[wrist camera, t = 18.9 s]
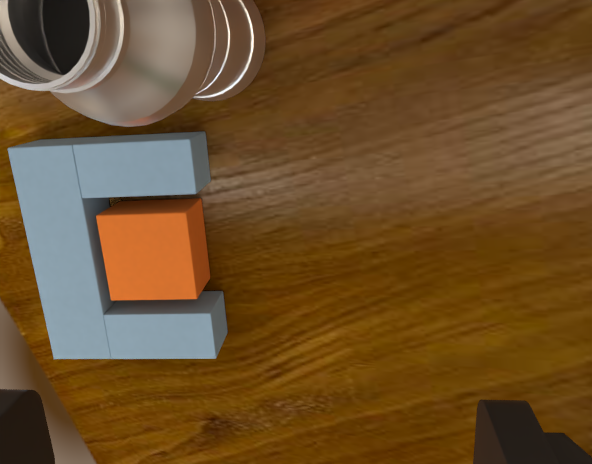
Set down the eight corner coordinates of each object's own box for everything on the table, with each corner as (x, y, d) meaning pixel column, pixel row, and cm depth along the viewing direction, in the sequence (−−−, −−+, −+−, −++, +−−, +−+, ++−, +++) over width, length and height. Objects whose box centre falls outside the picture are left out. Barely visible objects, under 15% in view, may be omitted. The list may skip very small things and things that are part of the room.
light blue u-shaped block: (39, 139, 35) (6, 147, 31) (205, 131, 33) (190, 138, 30) (78, 333, 39) (53, 359, 36) (227, 332, 38) (216, 358, 34)
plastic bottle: (242, -43, 30) (62, -217, 11) (290, 72, 32) (204, 89, 13) (144, 8, 32) (-164, -72, 13) (195, 115, 33) (-9, 188, 14)
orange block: (118, 201, 35) (95, 215, 32) (201, 197, 35) (186, 212, 32) (131, 279, 37) (110, 301, 34) (211, 278, 36) (197, 299, 33)
